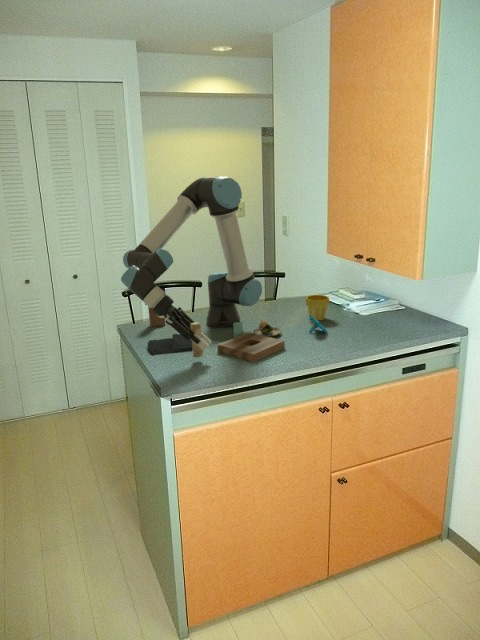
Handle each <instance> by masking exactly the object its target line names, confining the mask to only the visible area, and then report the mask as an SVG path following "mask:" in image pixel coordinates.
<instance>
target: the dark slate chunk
mask: <svg viewBox="0 0 480 640" xmlns="http://www.w3.org/2000/svg"><path fill="white" fill-rule="evenodd" d="M147 349H148V352H149V354H150V355H152V356H159V355H168V354H177V353H185V352H187V353H188V352H193V349H192V340H191V339H189V340H187V339H185V338H184V337H183V336H182V335H181V334H180V333H173V334H172V337H167V338H161V339H159V338H158V339H150V340H148V341H147Z"/></svg>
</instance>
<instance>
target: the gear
mask: <svg viewBox="0 0 480 640" xmlns="http://www.w3.org/2000/svg"><path fill="white" fill-rule="evenodd" d="M308 317H309V319H310V320H311V321H312V322H313V324H312V326H311V327H309V329H310V330H309V331H308V333H310V334H311V333H313V331H315V329H318V328H320V329H321V331H323V332H324V333H325V334H327V333H328V330H327V329H326V328H325V327H324V325H323V324H321V321H319V320H316V319H315V318H314V317H313V316H311V315H310V316H308Z"/></svg>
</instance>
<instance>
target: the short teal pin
mask: <svg viewBox="0 0 480 640" xmlns="http://www.w3.org/2000/svg"><path fill="white" fill-rule="evenodd" d="M232 327H233V338H235V337H238V336H241V335H243V334H244V333H243V332H244V331H243V330H244V329H243V328H244V327H243V322H241V321H240V322H235V323H233V326H232Z"/></svg>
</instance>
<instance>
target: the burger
mask: <svg viewBox="0 0 480 640" xmlns="http://www.w3.org/2000/svg"><path fill="white" fill-rule="evenodd" d="M268 323H269V321H268V320H261V322H260V323H259V326H258V328H255V329H254V330H252V333H254V334H258V335H262V336H267V337H271V338H273V337H276V336H278V335H279V334H280V333H282V330H281V329H280V328H278V327H273V326H271V325H270V324H268Z"/></svg>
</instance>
